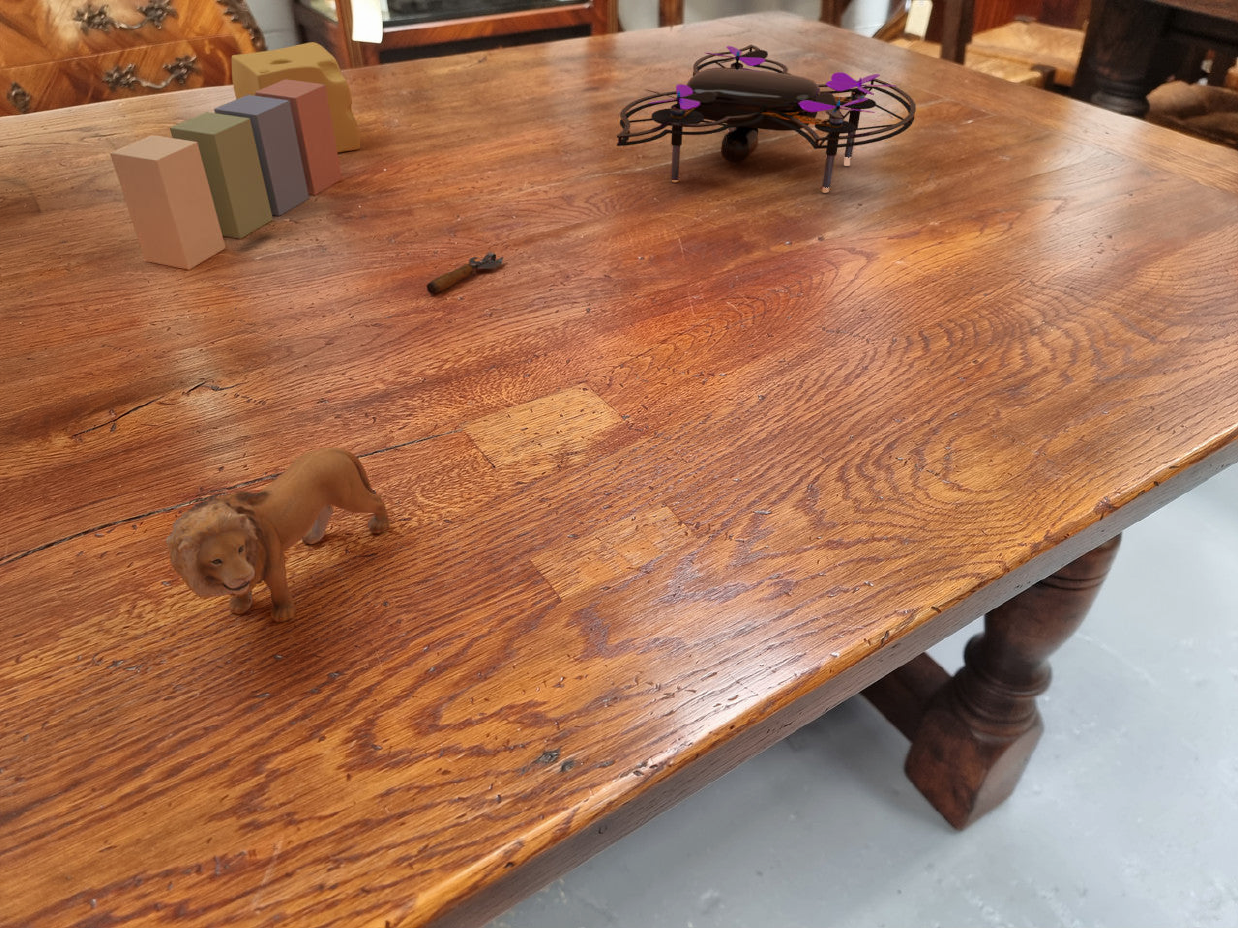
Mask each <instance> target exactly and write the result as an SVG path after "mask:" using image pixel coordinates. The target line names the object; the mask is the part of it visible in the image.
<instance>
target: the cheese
mask: <svg viewBox="0 0 1238 928" xmlns="http://www.w3.org/2000/svg"><path fill="white" fill-rule="evenodd" d="M338 63H339V62H338V61H337V59H336V58H335V57H334V55H333V54H332V53H330V52H329V51H328V50H327V49H325V47H324V46H322V45H321V44H319V43H317V42H313V41H312V42H306V43H301V44H297V45H292V46H288V47H283V48H282V47H281V48H277V49H271V50H270V49H269V50H265V51H258V52H257V51H256V52H248V53H241V54H240V53H239V54H233V55H232V56H231V78H232V86H233V92H234V95H235V100H236V99H239V98H241V97H244V96H246V95H253V96H255V92H256V91H258V90H261V89H263V88H266V87H268V86H270V85H273V84H275V83H278V82H280V81H282V80H285V79H287V80H294V81H302V82H310V83H317V84H325V85H326V91H327V97H328V102H329V108H330V114H331V119H332V125H333V131H334V136H335V142H336V148H337V153H343V152H350V151H351V152H352V151H355V150H360V147H361V132H360V128H359V124H358V121H357V119H356V118H355V116H354V112H353V109H352V104H353V98H352V93H351V89H350V86H349V83H348V82H347V79H346V78H345V76H343V74H342V70H341V68H340V66H339V64H338Z"/></svg>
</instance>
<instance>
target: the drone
mask: <svg viewBox="0 0 1238 928" xmlns="http://www.w3.org/2000/svg"><path fill="white" fill-rule="evenodd" d="M726 49H728V50H729V51H720V52H715V53H714V52H713V53H712V52H705V55H704V56H702V57H701V58H699V59H697V60H696V61H695V62H694V63H693V67H692V76H691V77H690V78H689V79H688V81H687V82H686V84H683V83H679V84H675V85H676V86H675V88H676V89H675V90H673V91H667V92H659V91H655V90H652V89H644V91H647V92H649V93H654V94H651V95H648V96H643V97H641V98H639V99H636V100H633V101H631V102H630V103H629V104H627V105H625V106H624V107H623V108H621V111H620V112H619V117H620V120H619V125H620V127H621V128H622V131H620V132H619V133H618V134H617V135H616V138H617V143H616V146H617V147H624V146H625V147H626V146H635V145H641V144H646V143H649V142H653V141H657V140H658V139H661V138H664V137H665V136H666V135H668V134H670V135H671V141H670V143H671V146H672V149H671V150H672V152H671V175H670V181H671V180H678V181H679V176H680V156H681V146H682V144H683V136H702V135H705V136H706V135H710V134H711V135H712V134H716V133H721V132H724V131H726V130H729V132H728V131H727V132H726V133H725V134H724V136H723V137H722V141H721V147H720V155H721V157H722V158H723V160H724V161H725V162H727V163H730V164H740V163H744V161H746V160H747V159H748V158H749V157H750V156H752V155H753V153H754V152H756V149H757V148H758V145H759V130H765V131H777V132H791V131H794V132H796V133H797V134H799V135H800V136H802V138H804V139H805V140H806V141H807V142H808V143H809V144H810V145H811V146H812V149H814V150H821V149H822V150H824V149H825V155H826V158H825V165H824V171H823V177H822V178H823V179H822V186H823V187H825V188H826V187H827V188H828V187H830V188H831V184H832V177H833V172H834V171H833V170H834V164H835V157H836V156H837V155H838V154H837V152H838V149H839V148H845V150H844V156H845V157H848V158H849V157H852V158H853V151H854V147H856V146H863V145H868V144H873V143H876V142H881V141H883V140H885V141H886V140H887V139H891V138H893V137H895V136H898V135H900V134H902V133H904V132H905V131H907V130H908V129H909V128H910V127H911V126H912V125H913V123H914V120H915V114H916V112H917V108H916V105H917V104H916V103H915V101H914V99H913V98H912V97H911V96H910V95H909V94H908V93H907V92H905V91H904V90H902V89H901V88H898V85H893V84H891V83H888V82H886V81H884V80H881V79H878V78H879V77H880V76H881V74H879V73H875V74H874V73H873V74H870V75H867V76H864V77H863V78H862V77H859V79H858V80H856V79H854V77H852V76H850V75H849V74H848V73H846V72H840V71H838V72H833V74H831V77H830V79H831V80H827V81H826V82H825V83H821V84H818V82H816V81H815V80H813V79H810V78H807V77H804V76H801V75H795V74H792V73H790V72H789V68H788V67H787V65H785V64H783V63H781V62H779V61H776V60H772V59H767V58H768V56H769V52H768V51H767V50H765V49H760V48H759V47H758V46H755V45H753V44H748V45H747V46H745V47H743V48H737V47H735V46H732V45H726ZM748 50H749V51H748ZM745 51H747V52H745ZM742 52H745V53H742ZM732 55H733V56H732ZM713 57H722V58H717V59H713V60H712V59H711V58H713ZM708 59H711V60H709V61H706V60H708ZM704 61H706V62H704ZM733 61H735V62H733ZM739 61H740V62H739ZM730 62H733V63H731V64H730V67H726V66H724V65H723V64H724V63H730ZM765 62H766V63H769V64H773V65H776V66H778V67H780V68H781V69H782V70H781V69H778V68H777V67H773V66H768V65H761V64H764V63H765ZM712 64H716V65H717V66H719V67H712V68H706V69H703V68H705V67H707V66H709V65H712ZM744 65H746V66H747V67H753V68H759V69H765V70H759V69H750V68H747V67H744ZM702 69H703V70H702ZM766 70H770V71H766ZM869 82H870V83H869ZM866 83H869V84H866ZM875 83H878V84H875ZM821 88H829V89H831V90H825V91H821ZM884 88H889V89H891V90H893V91H895V92H897V93H898V94H899V95H900V96H902V97H903V98H902V97H900V96H899V95H897V94H895V93H894V92H892V91H889V90H887V89H884ZM872 90H876V91H879V92H881V93H883V94H884V95H888V96H890V97H891V98H893V99H895V100H897V101H898V102H900V104H901V105H903V107H904V108H905V109H906V110H907V112H908V114H907V115H906V116H905V117H901V116H900V115H898V114H896V113H894V112H892V111H890V110H888V109H886V108H885V107H883V106H880V105H879V104H877V101H875V100H873V99H872V98H868V97H866V96H867V95H872V96H874V95H875V93H873V92H872ZM844 93H845V94H846V93H850V96H836V95H834V94H844ZM673 95H676V96H673ZM661 97H668V98H667V99H661V100H657V101H649V100H653V99H657V98H661ZM646 101H649V102H648V103H646V104H642V105H640V106H637V107H635V106H636V105H638V104H641V103H644V102H646ZM674 102H675V103H674ZM669 103H673V105H671V106H670V107H668V108H662V109H658V110H655V111H654V112H652V113H651V118H642V119H633V120H629V118H630V117H631V116H632V115H634V114H636V113H637V112H640V111H642V110H644V109H647V108H651V107H654V106H658V105H662V104H663V105H664V104H669ZM633 107H635V108H633ZM875 107H876V108H878V109H880V110H882V111H884V112H886V113H888V114H889V115H891V116H893V117H895V118H897V119H899V120H900V121H898V122H895V123H892V124H883V125H882V124H881V125H875V126H873V125H872V126H866V127H865V126H864V127H859V123H860V122H859V121H860V118H861V117H860V116H861V113H868V114H869V113H870V114H876V112H875V111H871V110H870V109H873V108H875ZM632 108H633V109H632ZM841 110H843V111H844V110H845V111H847V112H846V113H845V114H844V115H843V114H842V112H841ZM818 112H819V113H820V112H825V113H826V114H827V115H828V119H822V118H816V117H817V115H818ZM847 116H848V117H847ZM846 118H848V120H845V119H846ZM650 121H654V122H655V123H657V124H660V125H658V126H655V127H653V128H651V129H647V130H642V131H638V132H630V131H631V130H630V129H631V124H633V123H641V122H650ZM809 125H813V126H814V128H815V129H816V130H818V131H820V132H823V133H827V135H825V136H819V135H818V133H817V132H816V131H815V130H814V129H813V128H811V127H810V126H809ZM668 126H671V129H666V128H667V127H668ZM712 126H713V127H714V126H721V127H718V128H715V129H708V130H702V131H700V130H699V131H683V129H684V128H705V127H712ZM663 129H664V130H663ZM803 129H804V130H805V131H806V132H805V131H804V130H803ZM875 129H876V130H875ZM896 129H897V130H896ZM863 130H871V131H868V132H861V133H857V131H863ZM893 130H895V131H893ZM659 131H661V132H660V133H657V134H655V135H653V136H650V137H647V138H642V139H638V140H631V141H629V140H630V138H634V137H641V136H646V135H650V134H653V133H656V132H659ZM890 131H892V132H890ZM807 132H808V133H807ZM886 132H890V133H888V134H884V135H882V136H878V137H874V138H869V139H865V140H859V141H855V140H856V139H859V138H864V137H870V136H874V135H879V134H882V133H886ZM843 134H844V135H843ZM846 134H847V135H846ZM840 140H841V141H842V140H846V142H845V143H839V141H840ZM819 142H820V143H819ZM825 142H826V144H824V143H825ZM844 156H843V157H844ZM822 186H821V187H822Z"/></svg>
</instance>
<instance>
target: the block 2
mask: <svg viewBox="0 0 1238 928" xmlns="http://www.w3.org/2000/svg"><path fill="white" fill-rule="evenodd" d="M169 131H170V134H171V138H174V139H181V140H187V141H194V142H197V143H198V147H199V151H200V154H201V158H202V162H203V166H204V169H205V173H206V177H207V181H208V184H209V188H210V192H211V195H212V199H213V203H214V207H215V210H216V214H217V218H218V222H219V225H220V229H221V233H222V237H229V238H234V239H237V240H241V239H243V238H244V237H246V236H248V235H250V234H252V233H253V232H255V231H257V230H258V229H260V228H262V227H263V226H266V225H267V224H268V223H271V222H272V221H273V220H274V219H273V215H272V214H271V209H270V205H269V200H268V196H267V192H266V187H265V183H264V178H263V174H262V170H261V165H260V161H259V157H258V152H257V148H256V143H255V139H254V135H253V130H252V126H251V121H250V118H244V117H237V116H230V115H224V114H217V113H215V112H209V111H206V112H202V113H201V114H198V115H196V116H194V117H191V118H189V119H187V120H184V121H181V122H179V123H176V124H175V125H172V126H170V127H169Z"/></svg>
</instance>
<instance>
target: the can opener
mask: <svg viewBox="0 0 1238 928" xmlns="http://www.w3.org/2000/svg"><path fill="white" fill-rule="evenodd" d="M477 259H478V257H476V256H474V257H471V258H469V260H468V263H464V265H461V266H459V267H458V268H456V269H454V270H452V271H449V272H446V273H443V274H442V275H440V276H437V277H436V278H434V279H433V280H431V281H430V282H428V283H427V284H426V289H427V292H428V293H429V294H431V295H436V294H437V293H440V292H443V291H444V290H447V289H448V288H450V287H452V286H453V285H455V284H456V283H458V282H460V281H461V280H463V279H466V278H468V277H469V276H471V275H473V273H475V272H476V270H477V269H482V270H491V269H494V268H497V267H499V266H500V265H501V264H503V261H504V256H501V257H499V258H497V254H496V253H494V252H492V251H489V252H487V253H486V255H485V256H484V257H483V258H481V259H480V260H478V261H477Z"/></svg>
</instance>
